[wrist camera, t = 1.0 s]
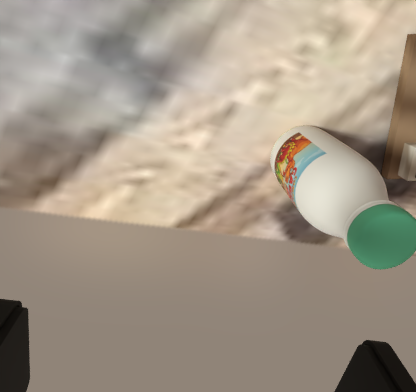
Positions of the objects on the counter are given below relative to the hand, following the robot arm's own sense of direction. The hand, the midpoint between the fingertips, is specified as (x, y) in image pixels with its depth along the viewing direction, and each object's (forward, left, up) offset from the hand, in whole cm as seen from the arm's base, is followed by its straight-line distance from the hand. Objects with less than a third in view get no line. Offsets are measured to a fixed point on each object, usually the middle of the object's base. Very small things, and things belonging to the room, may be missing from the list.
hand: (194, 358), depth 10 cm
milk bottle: (+4, +13, -32) cm, 35 cm away
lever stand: (-1, +31, -32) cm, 45 cm away
